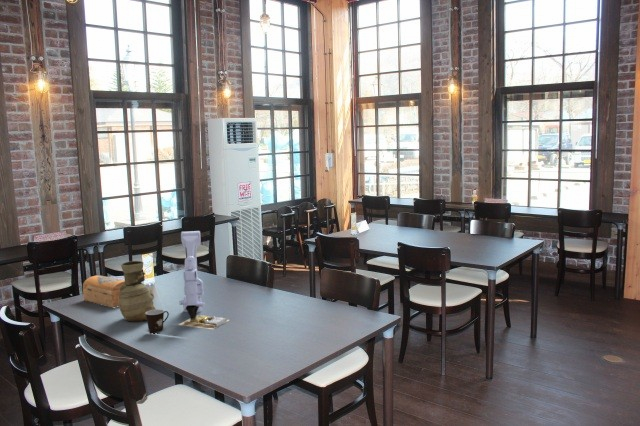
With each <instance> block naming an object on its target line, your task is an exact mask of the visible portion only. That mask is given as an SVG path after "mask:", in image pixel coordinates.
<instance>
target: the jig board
mask: <svg viewBox="0 0 640 426" xmlns="http://www.w3.org/2000/svg"><path fill="white" fill-rule="evenodd" d="M199 315H200V314H196V317H197V316H199ZM212 317H213V316H208V320H209V321H211V318H212ZM190 320H191V318H190V317H189V319H186V320H185V321H183V322H180V323H178V324H177V326H182V327H191V328H199V329H207V330H215V329H216V328H218V327H220V326H222V325H223V324H225V323H227V322H229V321H230V319H227V318H225V323H223V324H221V325H219V326H218V327H216V325H212V324H204V323H196V322H190Z"/></svg>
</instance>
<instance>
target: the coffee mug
mask: <svg viewBox="0 0 640 426" xmlns="http://www.w3.org/2000/svg"><path fill="white" fill-rule="evenodd" d="M155 309H156V308H155ZM165 313H167V315H166V317H165V316H164V315H165ZM145 314H146V319H147V320H146V323H147V329H148V332H149V334H150V333H153V334H152V335H156V334H155V333H160V332H162V331H163V330H164V323H165V322H166V321H167V320H168V317H169V316H170V315H169V314H170V313H169V312H168V311H167V310H163V309H161V308H160V309H158V308H157V309H156V310H150V311H147V312H146V313H145ZM164 318H165V319H164Z"/></svg>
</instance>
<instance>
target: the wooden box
mask: <svg viewBox="0 0 640 426" xmlns="http://www.w3.org/2000/svg"><path fill="white" fill-rule="evenodd" d="M124 283H125V279H119V278H115V277H111V276H104V275H101V274H100V275H99V274H98V275H94V276H89V277H88V278H86V279H85V280H84V282H83V283H82V292H83V294H82V296H83V300H85V302H87V301H90V302H89V303H91V302H94V303H93V304H95V303H98V304H97V305H99V304H102V305H106V306H110V307H117V306H119V293H120V288H121V286H122V285H123V284H124ZM102 305H101V306H102ZM106 306H105V307H106ZM110 307H109V308H110ZM117 308H118V307H117Z"/></svg>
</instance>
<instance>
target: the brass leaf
mask: <svg viewBox="0 0 640 426" xmlns="http://www.w3.org/2000/svg"><path fill="white" fill-rule="evenodd" d="M198 315H199V316H197V315H196V316H197V317H195V318H193V319H191V320H190V322H196V323H204V321H206V320H208V317H209V316H208V315H204V314H203V315H202V314H198Z"/></svg>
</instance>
